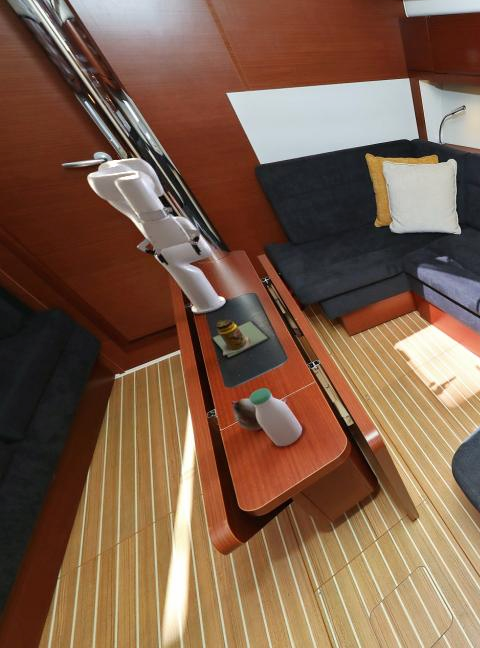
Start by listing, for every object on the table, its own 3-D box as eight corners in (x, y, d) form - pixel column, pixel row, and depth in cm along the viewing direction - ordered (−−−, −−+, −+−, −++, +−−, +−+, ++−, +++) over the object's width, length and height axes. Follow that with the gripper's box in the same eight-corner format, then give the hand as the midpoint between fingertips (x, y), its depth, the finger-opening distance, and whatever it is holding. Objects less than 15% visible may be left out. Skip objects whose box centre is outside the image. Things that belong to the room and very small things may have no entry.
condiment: (249, 347, 130) (234, 324, 123) (223, 355, 126) (206, 332, 119) (248, 337, 135) (233, 314, 128) (223, 345, 131) (206, 322, 124)
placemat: (213, 338, 135) (212, 337, 135) (250, 322, 144) (250, 320, 144) (229, 358, 126) (228, 356, 126) (268, 338, 135) (267, 337, 135)
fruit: (240, 421, 104) (220, 398, 97) (272, 403, 110) (255, 379, 102) (250, 441, 98) (229, 418, 91) (283, 421, 104) (266, 397, 97)
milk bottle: (308, 428, 102) (281, 387, 90) (287, 450, 96) (256, 409, 84) (289, 421, 104) (261, 380, 92) (268, 442, 98) (234, 401, 86)
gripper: (181, 205, 119) (207, 248, 129) (116, 219, 108) (150, 264, 118) (187, 210, 115) (214, 253, 125) (120, 225, 104) (155, 271, 114)
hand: (183, 258), depth 122 cm, fingers open, 9 cm apart
